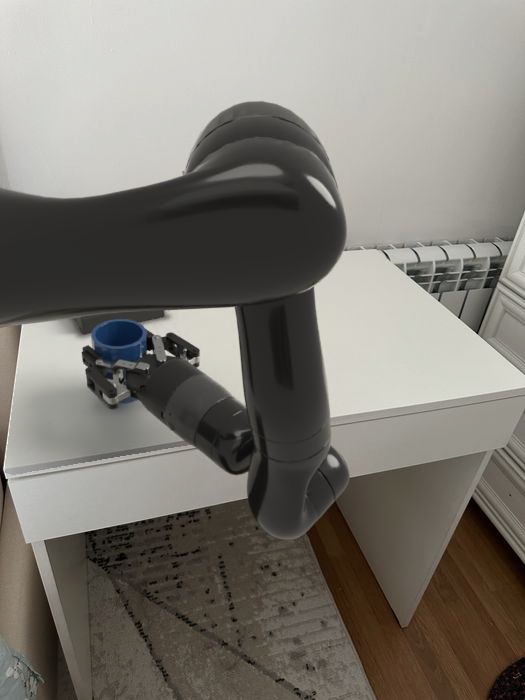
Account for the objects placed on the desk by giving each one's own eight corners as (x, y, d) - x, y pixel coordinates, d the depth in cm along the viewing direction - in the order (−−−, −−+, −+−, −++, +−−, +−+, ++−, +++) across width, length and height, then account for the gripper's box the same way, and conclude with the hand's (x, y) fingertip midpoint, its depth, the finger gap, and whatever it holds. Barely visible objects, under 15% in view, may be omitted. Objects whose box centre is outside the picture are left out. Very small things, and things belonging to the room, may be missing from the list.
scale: (82, 334, 86) (80, 318, 85) (58, 289, 97) (56, 274, 95) (164, 316, 93) (164, 301, 91) (133, 276, 104) (132, 262, 102)
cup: (106, 409, 69) (100, 353, 64) (91, 379, 74) (84, 325, 69) (155, 395, 73) (154, 341, 67) (138, 368, 77) (135, 314, 72)
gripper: (238, 355, 64) (153, 300, 73) (139, 406, 55) (56, 337, 64) (234, 402, 69) (155, 345, 77) (142, 457, 60) (64, 385, 68)
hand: (110, 341), depth 71 cm, fingers closed on cup, 7 cm apart
